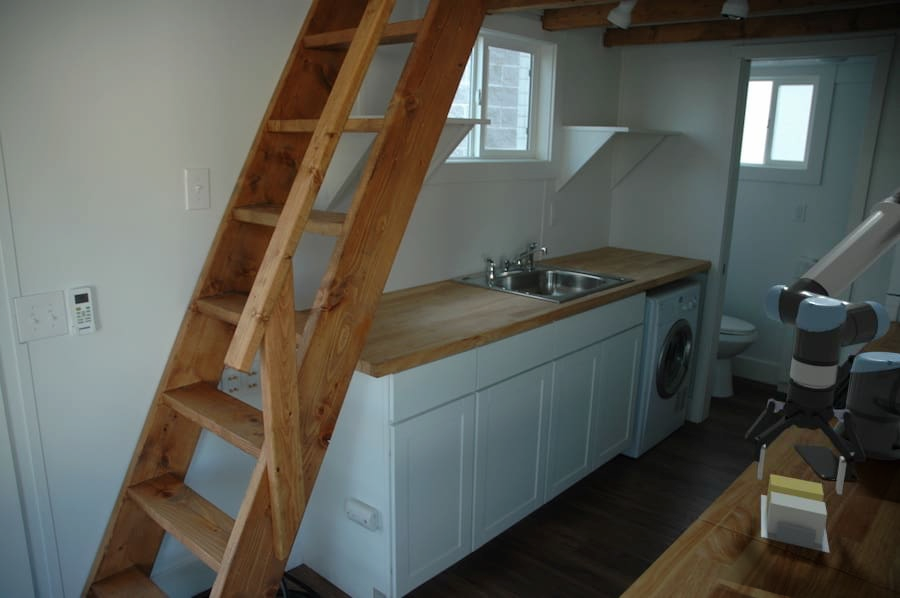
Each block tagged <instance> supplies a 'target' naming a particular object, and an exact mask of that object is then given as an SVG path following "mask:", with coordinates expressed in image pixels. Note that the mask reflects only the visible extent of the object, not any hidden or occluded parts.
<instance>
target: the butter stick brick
mask: <svg viewBox="0 0 900 598" xmlns="http://www.w3.org/2000/svg"><path fill="white" fill-rule="evenodd" d="M771 491H772V492H776V493H781V494H786V495H791V496H796V497H801V498H806V499H811V500H815V501H820V502H824V498H825V497H824V496H825V495H824V493H825V492H824V489H823V484H822V483H821V482H820V483H819V482H815V481H814V482H813V481H810V480H804V479H798V478H795V477H794V478H793V477H789V476H783V475H779V474H778V475H777V474H773V473H772V474H771V473H770V474H769V481H768V487H767V493H766V496H767V500H766V502H767V512H768V508H769V501H770V494H771Z"/></svg>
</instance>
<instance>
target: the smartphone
mask: <svg viewBox="0 0 900 598" xmlns="http://www.w3.org/2000/svg"><path fill="white" fill-rule="evenodd" d="M793 448H794V450H795V451H796V450H797V451H796V452H797V453H798V455H799V456H801V457H802V459H803V458H804V459H805V460H804V459H803V460H804V461H805V462H806V463H807V464H808V465H809V467H810V466H811V467H812V468H813V469H814V470H815V471H814V470H813V469H812V468H811V467H810V468H811V469H812V470H813V471H814V472H815V473H816V474H817V473H818V474H817V475H819V476H820V477H822V478H825V479H835V480H834V481H836V480H837V474H838V468H839V461H840V458H839V457H837V455H835V453H834V452H833V451H832V450H831V449H830V448H828V447H827V446H823V445H810V444H806V445H804V444H794V445H793ZM819 476H818V477H819ZM820 477H819V478H820ZM822 478H821V479H822ZM844 480H849V481H848V482H854V481H856V482H858V481H859V478H858V476H857V475H855V474H854V472H852V474H851V477H850V478H847V477H844Z"/></svg>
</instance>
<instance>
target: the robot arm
mask: <svg viewBox="0 0 900 598" xmlns="http://www.w3.org/2000/svg"><path fill="white" fill-rule="evenodd" d="M899 240H900V186H899V187H897V188H896V189H893V190H892V191H891V192H889V193H888V194H886V195H885V196H883V197H882V198H881V199H880V200H878V201H877V203H875V204H874V205H873V206H872V208H871V209H870V212H869V216H867V218H866V219H864V221H862V222H861V223H860V224H859V225H858V226H857V227H855V228H854V230H852V231H851V232H850V233H849V234H847V235H846V237H844V238H843V239H842V240H841V241H840V242H839V243H838V244H836V245H835V246H834V247H833V248H832V249H831V250H830V251H829V252H828V253H827V254H826V255H824V256H823V257H821V259H820V260H819V261H818V262H816V263H815V264H814V265H813V266H812V267H810V268H809V269H808V270H807V271H806V272H805V273H804V274H802V276H801V277H800V278H798V279H797V280H796V281H795V282H794V283H793V284H791V285H790V286H789V285H786V284H783V285H782V284H778V285H774V286H772V287H771V288H770V289H769V290H767V292H766V294H765V296H764V298H763V303H762V305H763V306H762V307H763V310H764V313H765V315H766V316H767V317H768V318H769V319H771V320H774V321H776V322H779V323H781V324H783V325H789V326H792V327H795V334H794V342H793V345H794V346H793V351H792V356H791V357H792V358H791V364H790V365H791V366H790V372H789V376H790V379H789V381H788V386H787V387H788V388H787V393H786V394H787V397H786V399H785V401H784V402H783V401H780V400H779V401H778V400H776V399H775V398H774V397H769V398H768V400H767V404H766V407H765V409H764V410H763V411H762V412H761V414H760V415H759V416H758V418H757V419H756V420H755V421H754V423H752V425H751V426H750V427H749V429H748V430H747V431H746V433H745V437H744V438H745V439H744V441H745V443H747V444H751V445H753V447H754V448H753V456H752V459H753V461H754V462H757V463H758V466H757V467H758V468H757V480H761V481H762V480H763V473H764V463H765V457H766V444H768V443H769V442H770V441H772V440H773V439H775V438H776V437H778V436H779V435H780V434H781V433H783V432H784V431H785V430H788V429H790V428H791V427H792V426H794V427H796V428H797V429H808V430H811V431H816V430H821V431H822V433H823V434H824V435H825V436H827V438H828V440H830V442H831V443H832V444H833V446H834V447H835V448H836V449H837V450H838V452H839V453H840V455H842V456H839V460H840V461H839V468H838V474H837V481H836V480H835V481H836V483H835V491H836V494H837V495H841V496H842V494H843V487H844V482H845V481H844V477H847V478H850V477H851V474H852V473H853V466H854V465H855V463H856V462H861V463H865V462H866V460H867V459H871V460H876V461H898V460H900V353H895V352H885V351H870V352H869V351H868V352H867V351H866V352H863V353H862V352H861V353H860V354H857V355H856V356H855V357H854V359H853V363H852V366H851V369H850V378H849V384H848V391H847V395H846V396H847V397H846V402H845V407H844V408H842V409H834V408H833V404H834V396H835V391H836V386H835V384H836V383H837V376H838V368H839V364H840V363H839V362H840V355H841V349H842V348H847V347H849V346H854V345H859V344H865V343H871V342H873V341H874V340H877V339H880V338H883V337H884V336H885V335H886V334H887V333H888V332H889V329H890V326H891V318H890V314H889V312H888V310H887V309H886V308H885V307H884V306H883V305H882V304H880V303H878V302H876V301H872V300H871V301H870V300H869V301H865V300H861V301H858V302H853V301H848V300H844V299H840V298H837V297H838V296H839V295H840V294H841V293H843V292H844V291H845V290H846V289H847V288H848V287H849V286H850V285H851V284H852V283H853V282H854V281H855V280H856V279H858V278H859V277H861V275H862V274H863V273H864V272H865V271H866V270H868V269H869V268H871V266H872V265H873V264H874V263H875V262H877V260H879V258H881V257H882V256H883V255H884V254H885V253H887V252H888V250H890V249H891V248H892V247H893V246H894V245H895V244H896V243H897V242H899ZM780 410H783V412H784V413H785V414H784V415H783V416H782V417H781V419H780V420H778V421H776V422H775V423H774V424H772V425H771V426H770V427H769V428H767V429H766V430H765V431H763V432H761V431H762V430H763V428H764V427H765V426H766V425H767V424H768V422H769V421H770V420H771V418H772V417H773V415H774V413H778V412H779V411H780ZM834 417H836V418H837V420H838V421H837V423H836V424H835V426H834V427H832V426H831V424H830V421H831V420H832V419H833V418H834ZM760 432H761V433H760ZM758 434H759V435H758Z"/></svg>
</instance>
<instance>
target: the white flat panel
mask: <svg viewBox="0 0 900 598" xmlns="http://www.w3.org/2000/svg"><path fill="white" fill-rule="evenodd" d="M827 516H828V511H827V508H826V502H824V501H823V502H820V501H815V500H811V499H806V498H801V497H796V496H791V495H786V494H781V493H776V492H772V491H771V494H770V501H769V508H768V515H767V532H770V533H774V534H777V527H778V522H782V523H786V524H791V525H795V526H800V527H804V528H809V529H813V530H816V536H815V542H814V543H818V544H822V542H823V536H824V530H825V528H826V523H827V518H828V517H827Z"/></svg>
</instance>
